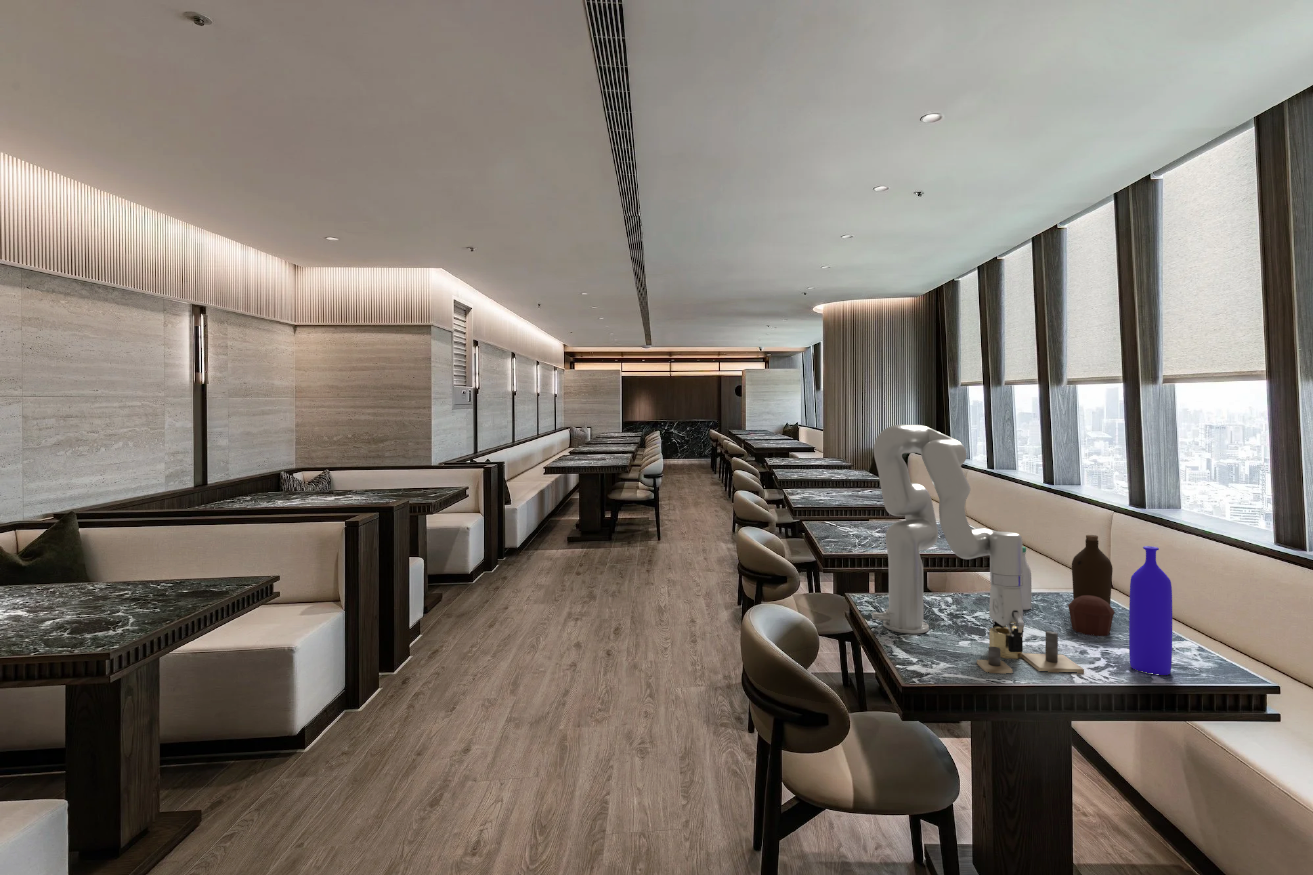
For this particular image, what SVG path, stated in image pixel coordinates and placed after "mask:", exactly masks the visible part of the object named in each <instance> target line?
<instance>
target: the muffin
mask: <svg viewBox="0 0 1313 875" xmlns="http://www.w3.org/2000/svg"><path fill="white" fill-rule="evenodd" d="M1067 607H1068V612H1069V618H1070V622H1071V623H1070V624H1071V627H1072V628H1071V629H1072V630H1074V631H1075V632H1076V633H1079V634H1084V635H1086V636H1095V637H1107V636H1108V635H1110V633H1111V629H1112V626H1113V625H1112V624H1113V620H1114V619H1113V618H1114V615H1115V614H1116V612H1115V610H1114V609H1113V607H1112V606H1111V604H1110V605H1109V604H1108V603H1107V602H1106V601H1105V600H1103V599H1101V598H1099V597H1096V596H1091V595H1084V596H1080V597H1077V598H1075V599H1074V600H1073V599H1072V600H1071V602H1070V603H1069V604H1068V605H1067Z"/></svg>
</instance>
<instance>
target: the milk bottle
mask: <svg viewBox="0 0 1313 875" xmlns="http://www.w3.org/2000/svg"><path fill="white" fill-rule="evenodd" d="M1026 555H1027V547H1026V546H1023V588H1021V594H1022V604H1023V611H1028V610H1031V609H1032V601H1033V600H1032V597H1033V596H1032V590H1033V589H1032V570H1031V567H1030V565H1029V563H1028V561H1027V558H1026Z"/></svg>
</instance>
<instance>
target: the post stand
mask: <svg viewBox="0 0 1313 875" xmlns="http://www.w3.org/2000/svg"><path fill="white" fill-rule="evenodd" d="M1058 634H1059V633H1058V632H1056V631H1049V630H1048V631H1045V653H1026V652H1022V653H1021V657H1020V658H1021V659H1023V660H1025V661H1026V662H1027V663H1028V664H1029V665H1031V666H1032V667H1033V668H1034V669H1035V670H1037V671H1038V672H1039V671H1048V672H1047V673H1059V672H1077V673H1076V674H1085V668H1083V667H1081V666H1080V665H1079V664H1078V663H1075V662H1074V661H1073V660H1071V659H1070V658H1068V657H1067V656H1066V655H1064V654H1058V653H1059V641H1058V640H1059V635H1058Z"/></svg>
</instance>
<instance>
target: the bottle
mask: <svg viewBox="0 0 1313 875" xmlns="http://www.w3.org/2000/svg"><path fill="white" fill-rule="evenodd" d="M1142 548H1143V550H1145V561H1144V563H1143V565H1142V566H1140V567H1139V568H1138V569H1137V570H1136V571H1134V572H1133V574H1132V575H1131V577H1130V582H1129V602H1128V603H1129V604H1128V605H1129V607H1128V608H1129V610H1128V612H1129V613H1128V615H1129V617H1128V618H1129V621H1128V623H1129V625H1128V626H1129V627H1128V630H1129V631H1128V639H1129V640H1128V646H1129V647H1128V648H1129V650H1128V651H1129V664H1130V665H1129V666H1130V667H1131V669H1132V668H1133V670H1134V669H1136V670H1138V671H1143V672H1147V673H1153V674H1159V675H1167V676H1169V675H1170V674H1171V672H1172V662H1173V661H1172V660H1173V588H1172V582H1171V579H1170V578H1169V577H1168V575H1167V574H1166V573H1165V572H1164V570H1162V568H1160V566H1159V565H1158V563H1157V551H1159V550H1160V549H1159V547H1157V546H1153V545H1151V546H1150V545H1145V546H1143V547H1142ZM1136 670H1135V671H1136ZM1138 671H1137V672H1138ZM1168 674H1169V675H1168Z"/></svg>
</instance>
